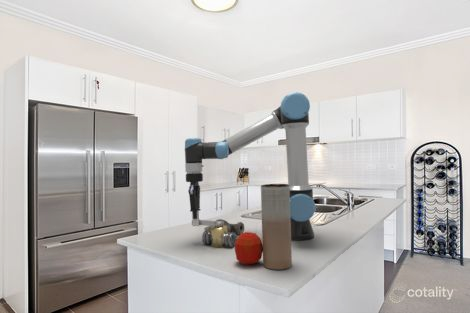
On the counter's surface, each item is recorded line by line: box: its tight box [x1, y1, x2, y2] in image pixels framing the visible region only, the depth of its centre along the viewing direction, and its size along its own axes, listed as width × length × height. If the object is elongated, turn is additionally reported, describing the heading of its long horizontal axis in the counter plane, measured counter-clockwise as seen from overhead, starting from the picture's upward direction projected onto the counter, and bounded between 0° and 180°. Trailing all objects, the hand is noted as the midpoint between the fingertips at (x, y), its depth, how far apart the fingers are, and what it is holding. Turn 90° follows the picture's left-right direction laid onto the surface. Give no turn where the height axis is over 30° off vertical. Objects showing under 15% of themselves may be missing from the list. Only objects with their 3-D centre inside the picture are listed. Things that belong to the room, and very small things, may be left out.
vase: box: [260, 183, 293, 271], centre depth 102 cm, size 10×10×28 cm
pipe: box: [204, 218, 245, 235], centre depth 146 cm, size 16×9×15 cm
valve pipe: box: [201, 226, 238, 249], centre depth 128 cm, size 14×7×8 cm, turn 62°
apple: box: [234, 231, 263, 266], centre depth 105 cm, size 10×10×12 cm
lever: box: [191, 219, 224, 227], centre depth 130 cm, size 15×4×2 cm, turn 64°
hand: (195, 225), depth 131 cm, fingers closed
